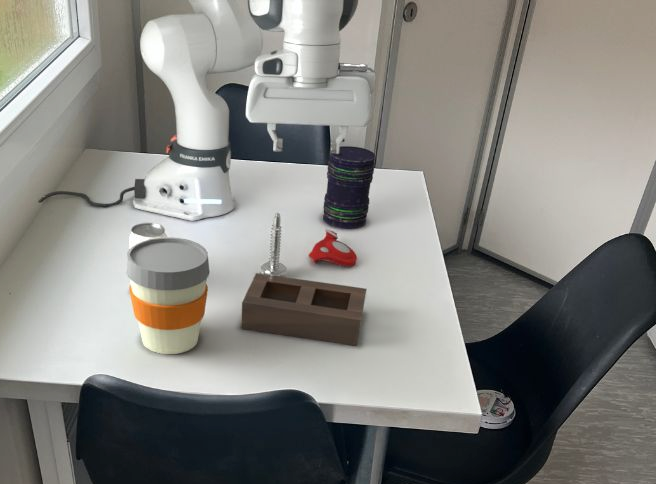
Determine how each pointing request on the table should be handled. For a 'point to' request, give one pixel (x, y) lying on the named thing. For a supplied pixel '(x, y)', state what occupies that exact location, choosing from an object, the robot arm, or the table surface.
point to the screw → (274, 251)
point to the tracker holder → (333, 250)
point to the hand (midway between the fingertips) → (306, 151)
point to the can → (146, 232)
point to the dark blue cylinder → (348, 187)
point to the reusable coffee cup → (168, 292)
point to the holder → (303, 309)
